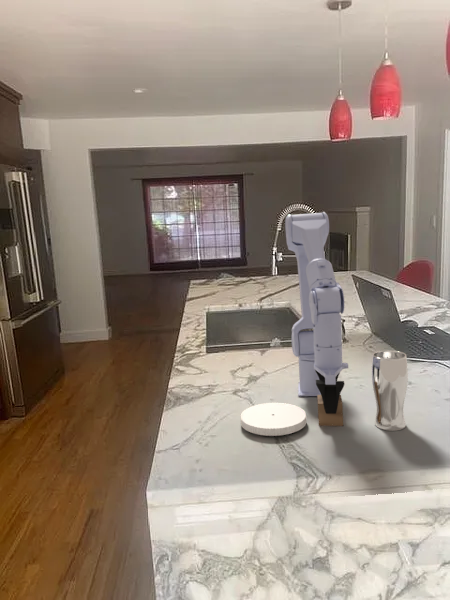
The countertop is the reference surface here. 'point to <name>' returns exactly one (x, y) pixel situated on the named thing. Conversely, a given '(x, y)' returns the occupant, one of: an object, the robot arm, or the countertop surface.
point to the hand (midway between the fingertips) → (329, 406)
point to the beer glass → (389, 388)
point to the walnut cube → (330, 418)
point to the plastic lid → (273, 419)
